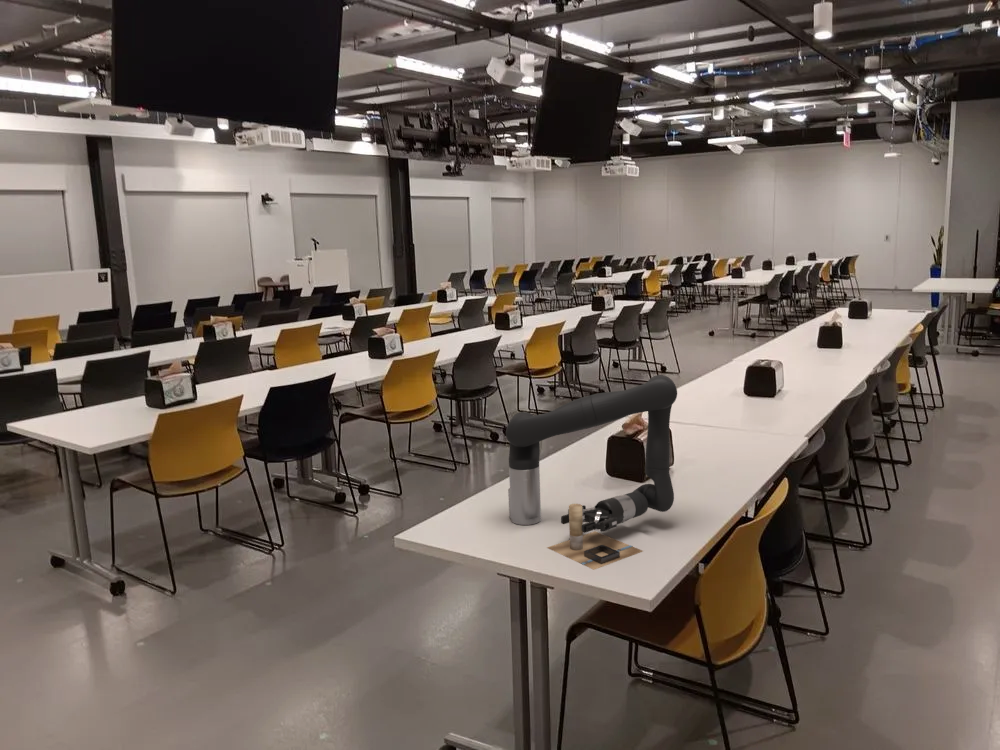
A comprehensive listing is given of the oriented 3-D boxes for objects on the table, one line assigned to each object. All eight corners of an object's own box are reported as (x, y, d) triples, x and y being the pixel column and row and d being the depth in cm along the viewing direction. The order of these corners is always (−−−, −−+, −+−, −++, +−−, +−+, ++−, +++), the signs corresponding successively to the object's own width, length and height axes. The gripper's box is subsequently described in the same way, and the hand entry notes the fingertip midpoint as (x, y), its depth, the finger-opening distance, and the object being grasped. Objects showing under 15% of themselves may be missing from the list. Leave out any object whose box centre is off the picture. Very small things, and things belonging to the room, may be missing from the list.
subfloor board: (546, 552, 216) (546, 547, 216) (595, 536, 226) (595, 530, 226) (594, 575, 201) (593, 569, 200) (643, 556, 211) (643, 550, 211)
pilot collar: (584, 556, 209) (584, 551, 208) (602, 549, 213) (602, 544, 212) (601, 564, 203) (601, 558, 203) (619, 557, 207) (619, 552, 207)
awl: (567, 547, 215) (566, 505, 213) (577, 544, 217) (576, 502, 215) (575, 551, 212) (574, 509, 210) (585, 548, 214) (584, 506, 212)
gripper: (597, 491, 227) (554, 504, 218) (633, 504, 216) (589, 518, 206) (598, 516, 228) (555, 530, 219) (633, 530, 217) (590, 545, 208)
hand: (572, 524), depth 213 cm, fingers open, 8 cm apart
